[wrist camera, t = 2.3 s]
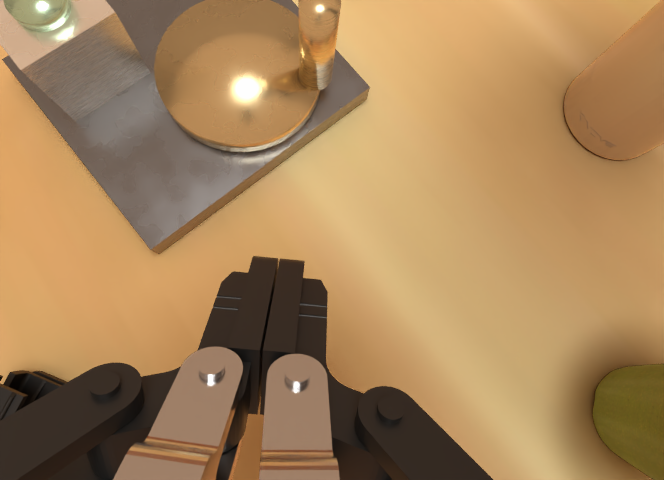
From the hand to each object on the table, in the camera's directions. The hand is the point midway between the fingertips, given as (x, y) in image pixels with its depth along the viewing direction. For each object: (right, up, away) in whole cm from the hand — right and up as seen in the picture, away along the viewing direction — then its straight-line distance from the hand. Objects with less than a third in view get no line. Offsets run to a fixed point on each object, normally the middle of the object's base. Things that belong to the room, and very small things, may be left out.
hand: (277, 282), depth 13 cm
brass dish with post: (-6, +15, +23) cm, 28 cm away
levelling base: (-10, +15, +25) cm, 31 cm away
